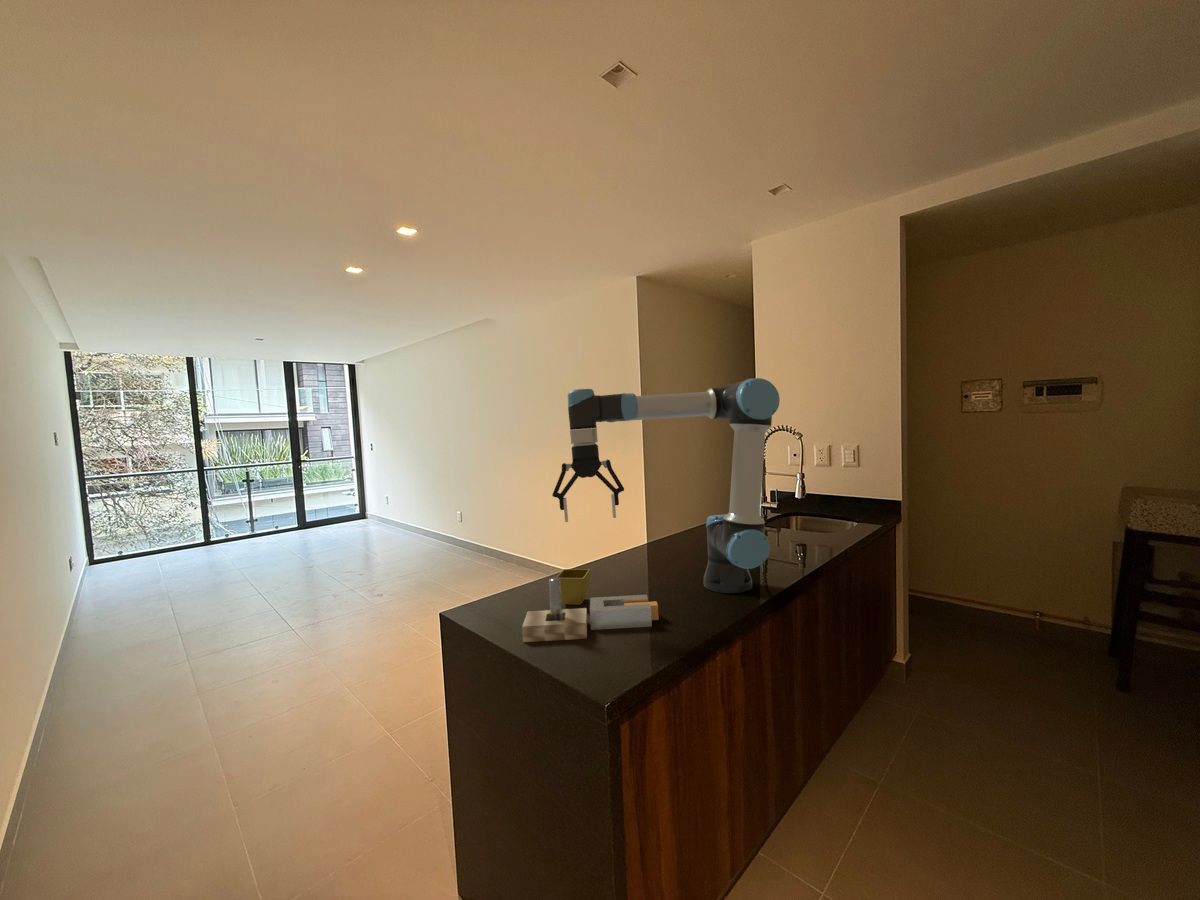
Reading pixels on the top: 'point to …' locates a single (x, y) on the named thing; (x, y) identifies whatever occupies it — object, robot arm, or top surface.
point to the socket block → (619, 612)
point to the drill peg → (555, 599)
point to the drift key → (653, 608)
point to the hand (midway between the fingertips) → (590, 519)
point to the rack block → (555, 625)
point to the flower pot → (574, 585)
